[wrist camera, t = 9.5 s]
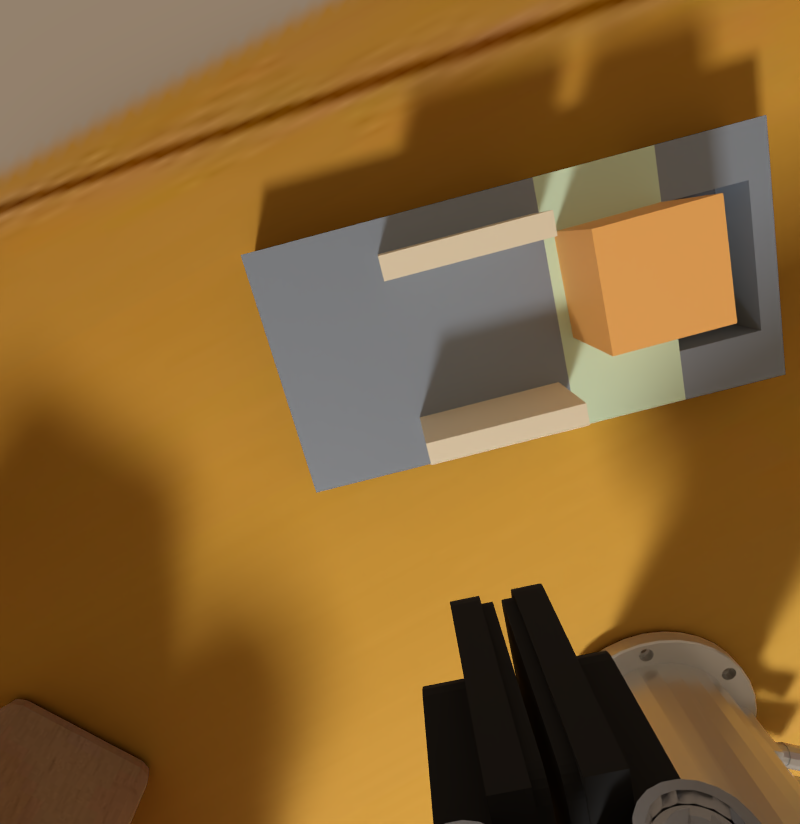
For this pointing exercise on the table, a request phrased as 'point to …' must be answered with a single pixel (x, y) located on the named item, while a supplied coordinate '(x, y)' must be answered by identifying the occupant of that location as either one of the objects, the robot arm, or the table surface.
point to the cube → (648, 274)
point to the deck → (502, 313)
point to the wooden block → (63, 772)
